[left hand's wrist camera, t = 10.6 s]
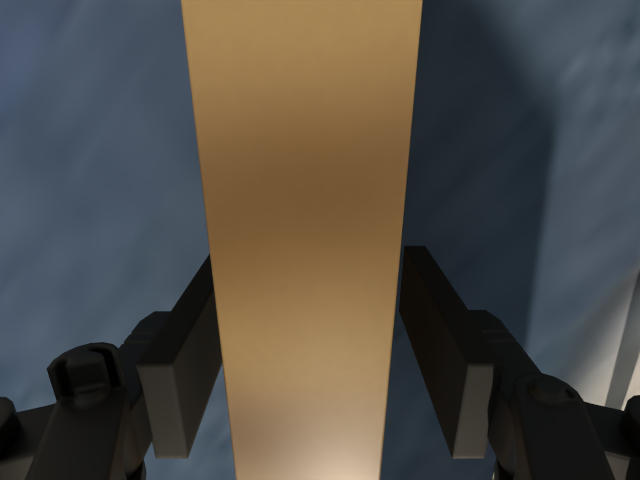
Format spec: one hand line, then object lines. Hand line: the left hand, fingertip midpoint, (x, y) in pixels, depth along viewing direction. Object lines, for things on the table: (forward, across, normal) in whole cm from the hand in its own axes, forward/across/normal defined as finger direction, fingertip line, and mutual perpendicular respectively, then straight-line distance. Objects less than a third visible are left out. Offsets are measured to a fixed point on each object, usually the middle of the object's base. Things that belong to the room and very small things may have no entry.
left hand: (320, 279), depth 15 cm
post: (+2, 0, -19) cm, 19 cm away
